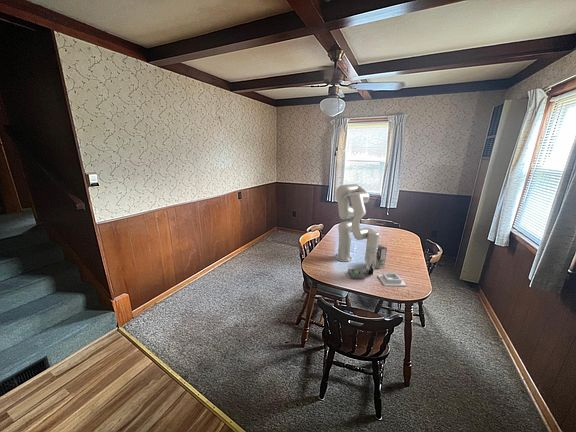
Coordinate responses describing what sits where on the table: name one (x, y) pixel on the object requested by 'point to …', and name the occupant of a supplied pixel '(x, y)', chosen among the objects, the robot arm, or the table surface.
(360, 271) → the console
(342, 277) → the table surface
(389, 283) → the white square tray
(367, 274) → the cylinder
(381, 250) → the coffee box
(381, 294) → the table surface
